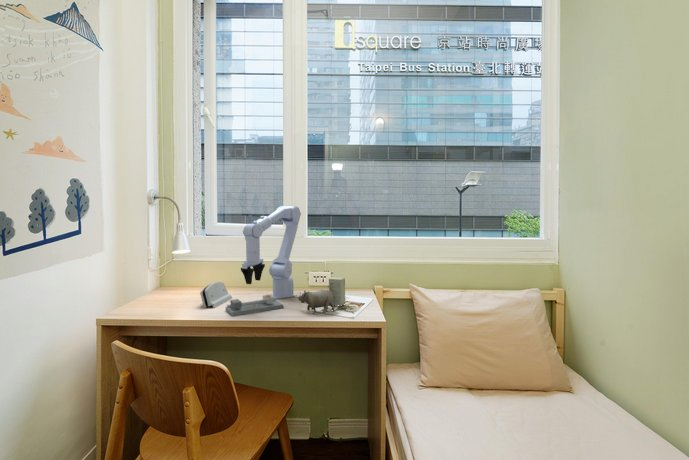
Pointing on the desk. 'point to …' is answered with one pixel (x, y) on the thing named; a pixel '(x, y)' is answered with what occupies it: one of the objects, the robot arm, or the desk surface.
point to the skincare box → (337, 290)
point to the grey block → (268, 299)
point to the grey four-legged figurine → (317, 299)
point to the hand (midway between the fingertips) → (253, 282)
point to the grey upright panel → (215, 295)
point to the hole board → (250, 307)
